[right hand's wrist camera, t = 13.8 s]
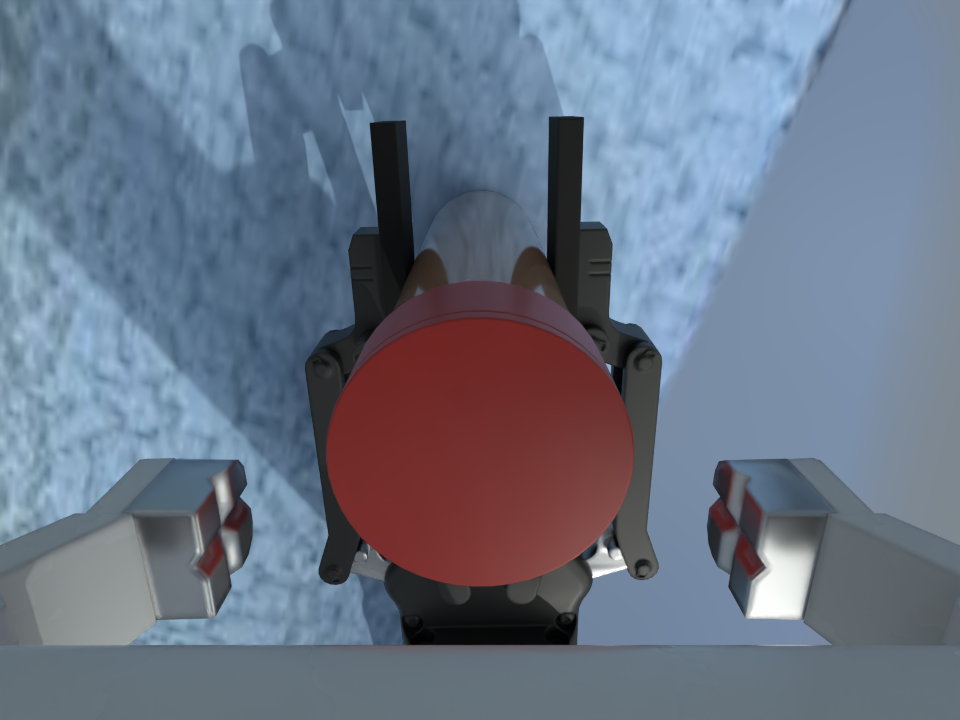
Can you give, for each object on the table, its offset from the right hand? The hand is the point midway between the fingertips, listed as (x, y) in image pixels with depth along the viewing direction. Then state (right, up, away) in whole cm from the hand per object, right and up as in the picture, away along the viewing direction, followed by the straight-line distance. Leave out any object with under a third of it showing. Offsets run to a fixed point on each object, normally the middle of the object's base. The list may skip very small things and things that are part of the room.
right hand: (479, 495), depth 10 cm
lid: (0, +1, +1) cm, 1 cm away
